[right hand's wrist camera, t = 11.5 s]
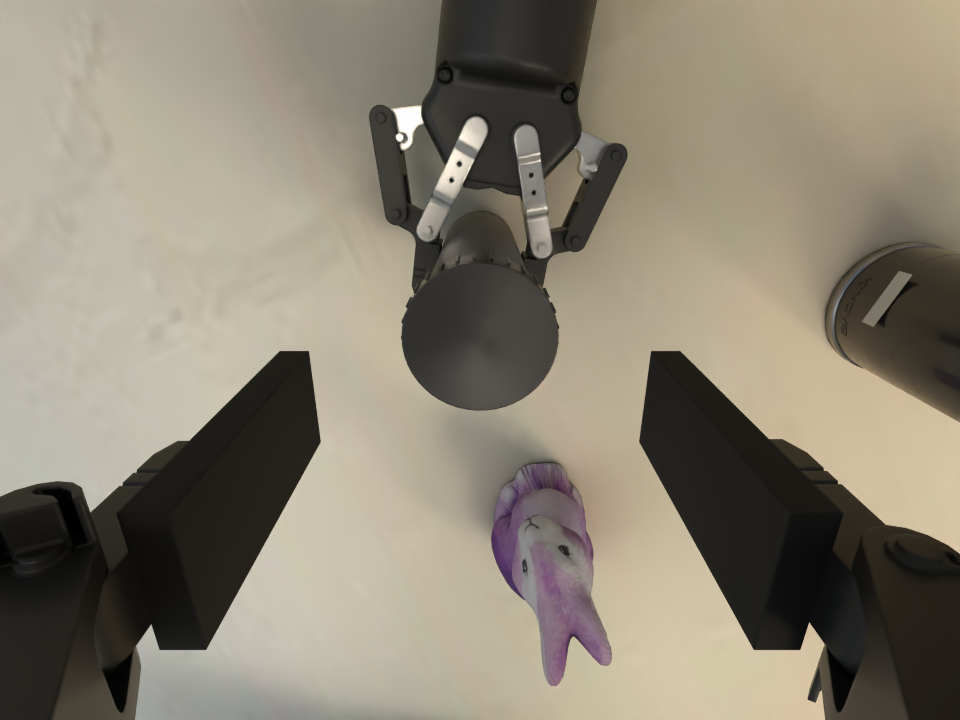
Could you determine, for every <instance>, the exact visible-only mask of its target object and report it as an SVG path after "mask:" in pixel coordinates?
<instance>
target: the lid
mask: <svg viewBox="0 0 960 720" xmlns="http://www.w3.org/2000/svg"><path fill="white" fill-rule="evenodd" d="M414 293H415V294H414V295H413V297H410V299H409V301H408V303H407V305H406V307H407V311H406V313H405V315H404V317H403V319H402V323H403V325H402V336H401V339H402V347H403V352H404V356H405V359H406V362H407V365H408V367H409V368H410V370H411V372H412V374H413V375H414V377H415V378H416V380H417V381H418V382H419V383H420V384H421V385H422V387H423V388H424V389H426V390H427V391H428V392H429V393H430V394H431V395H433V396H434V397H436V398H437V399H439V400H441V401H443V402H445V403H447V404H449V405H452V406H455V407H458V408H463V409H467V410H492V409H498V408H502V407H505V406H508V405H511V404H513V403H515V402H517V401H519V400H521V399H523V398H524V397H526V396H527V395H529V394H530V393H531V392H532V391H533V390H535V389H536V388H537V387H538V386H539V385H540V383H541V382H542V381H543V380H544V379H545V377H546V376H547V374H548V373H549V371H550V369H551V367H552V365H553V362H554V359H555V356H556V353H557V348H558V335H559V334H558V329H559V325H558V323H557V320H556V316H555V313H556V310H555V308H554V306H553V304H552V302H550V301H549V299H548V298H549V297H550V296H549V294H548V292H547V290H546V288H542V286H541V285H540V283H539V281H538V278H537V276H536V275H534V276H532V275H531V274H530V273H529V272H528V271H527V270H526V269H525V266H524V265H521V266H520V265H518V264H516V263H515V262H513V261H510V258H509V257H506V259H505V258H502V257H498V256H494V255H493V253H490V255H486V254H476V252H473V255H466V256H462V257H460V256H459V255H457V256H456V258H455V259H452V260H450V261H448V262H445V263H444V262H441V264H440V266H439V267H437V268H436V269H435V270H433V271H432V272H430V271H429V272H428V273H427V275H426V277H425V279H424V280H423V281H422V282H421V284H419V283H418V284H417V286H416V288H415V290H414Z"/></svg>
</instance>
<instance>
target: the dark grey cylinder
mask: <svg viewBox="0 0 960 720" xmlns="http://www.w3.org/2000/svg"><path fill="white" fill-rule="evenodd" d="M473 252H476V254H486V255H490V253H493V255H494V256H498V257H502V258H505V259H506V257H509V258H510V261H513V262H515V263H516V264H518V265H520V266H521V265H524V262H523V260H522V257H521V255H520V252H519V250H518V247H517V245H516V242H515V240H514V237H513V234H512V232H511V230H510V228H509V226H508V225H507V224H506V223H505V222H504V221H503V220H502V219H501V218H500V217H498V216H497V215H495V214H492V213H489V212H485V211H476V212H471V213H468V214H465V215H463V216H462V217H460V218H459V219H458V220H457V221H456V222H455V223H454V224H453V225H452V227H451V228H450V230H449V232H448V235H447V237H446V240H445V242H444V245H443V247H442V250H441V252H440V255H439V257H438V260H437V263H436V265H435V268H434V270H435V269H436V268H437V267H439V266H440V264H441V262H444V263H445V262H448V261H450V260H452V259H455V258H456V256H457V255H459V256H460V257H462V256H466V255H473ZM524 266H525V265H524ZM525 269H526V267H525Z"/></svg>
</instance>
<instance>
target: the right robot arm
mask: <svg viewBox="0 0 960 720" xmlns="http://www.w3.org/2000/svg"><path fill="white" fill-rule="evenodd" d="M320 442H321V440H320V433H319V425H318V417H317V410H316V402H315V394H314V387H313V379H312V372H311V364H310V356H309V351H280V352H279V353H278V354H277V355H275V356H274V357H273V358H272V359H271V360H270V361H269V362H268V363H267V364H266V365H265V366H264V367H263V368H262V369H261V370H260V371H259V372H258V373H257V374H256V375H255V376H254V377H253V378H252V379H251V380H250V381H249V382H248V383H247V384H246V385H245V386H244V387H243V388H242V389H241V390H240V391H239V392H238V393H237V394H236V395H235V396H234V397H233V398H232V399H231V400H230V401H229V402H228V403H227V404H226V405H225V406H224V407H223V408H222V409H221V410H220V411H219V412H218V413H217V414H216V415H215V416H214V417H213V418H212V419H211V420H210V421H209V422H208V423H207V424H206V425H205V426H204V427H203V428H202V429H201V430H200V431H199V432H198V433H197V434H196V435H195V436H194V437H193V438H192V439H191V440H190V441H177V442H175V443H173V444H172V445H170V446H168V447H166V448H164V449H162V450H161V451H159V452H157V453H155V454H154V455H152V456H151V457H150V458H149V459H148V460H147V461H146V462H145V463H144V464H143V465H142V466H141V467H139V468H138V469H137V473H133V474H132V475H131V476H130V477H129V478H128V479H126V480H125V481H124V482H123V486H119V487H118V488H117V489H116V490H115V491H113V492H112V493H111V494H110V495H109V496H108V497H107V498H106V499H105V500H104V501H103V502H102V503H100V504H99V505H98V506H97V507H96V508H95V509H94V510H93V511H92V512H91V513H90V511H89V508H88V505H87V502H86V499H85V496H84V493H83V490H82V488H81V487H80V486H78V485H76V484H74V483H72V482H59V481H56V482H49V483H41V484H36V485H32V486H29V487H25V488H22V489H18V490H15V491H12V492H10V493H8V494H5V495H3V496H1V497H0V720H135V714H136V706H137V697H138V688H139V680H140V671H141V664H140V658H139V654H138V651H137V648H136V645H137V644H138V642H139V641H140V639H141V638H142V636H143V635H144V634H145V632H146V631H147V629H148V628H149V626H150V625H151V624H152V627H153V630H154V633H155V637H156V640H157V643H158V646H159V649H160V650H206V649H207V647H208V645H209V644H210V642H211V640H212V638H213V636H214V635H215V633H216V631H217V629H218V627H219V625H220V624H221V622H222V620H223V618H224V616H225V615H226V613H227V611H228V609H229V607H230V606H231V604H232V602H233V600H234V598H235V596H236V595H237V593H238V591H239V589H240V587H241V586H242V584H243V582H244V580H245V578H246V577H247V575H248V573H249V571H250V569H251V567H252V566H253V564H254V562H255V560H256V558H257V557H258V555H259V553H260V551H261V549H262V547H263V546H264V544H265V542H266V540H267V538H268V537H269V535H270V533H271V531H272V529H273V528H274V526H275V524H276V522H277V520H278V518H279V517H280V515H281V513H282V511H283V509H284V508H285V506H286V504H287V502H288V500H289V498H290V497H291V495H292V493H293V491H294V489H295V488H296V486H297V484H298V482H299V480H300V479H301V477H302V475H303V473H304V471H305V469H306V468H307V466H308V464H309V462H310V460H311V459H312V457H313V455H314V453H315V451H316V449H317V448H318V446H319V444H320ZM639 442H640V444H641V446H642V448H643V449H644V451H645V453H646V455H647V457H648V459H649V460H650V462H651V464H652V466H653V468H654V469H655V471H656V473H657V475H658V477H659V479H660V480H661V482H662V484H663V486H664V488H665V489H666V491H667V493H668V495H669V497H670V498H671V500H672V502H673V504H674V506H675V508H676V509H677V511H678V513H679V515H680V517H681V518H682V520H683V522H684V524H685V526H686V528H687V529H688V531H689V533H690V535H691V537H692V538H693V540H694V542H695V544H696V546H697V547H698V549H699V551H700V553H701V555H702V557H703V558H704V560H705V562H706V564H707V566H708V567H709V569H710V571H711V573H712V575H713V577H714V578H715V580H716V582H717V584H718V586H719V587H720V589H721V591H722V593H723V595H724V596H725V598H726V600H727V602H728V604H729V606H730V607H731V609H732V611H733V613H734V615H735V616H736V618H737V620H738V622H739V624H740V625H741V627H742V629H743V631H744V633H745V635H746V636H747V638H748V640H749V642H750V644H751V645H752V647H753V649H754V650H800V649H801V646H802V643H803V640H804V637H805V634H806V630H807V627H808V624H809V622H810V624H811V625H812V627H813V628H814V629H815V631H816V632H817V634H818V635H819V636H820V638H821V639H822V641H823V642H824V644H825V645H824V648H823V651H822V654H821V657H820V660H819V663H818V666H817V669H816V672H815V675H814V678H813V680H812V683H811V686H810V690H809V695H808V700H810V701H813V702H815V703H816V700H817V698H818V695H819V692H820V691H821V690H822V695H823V704H824V712H825V720H960V554H959V553H958V552H956V551H955V550H954V549H952V548H951V547H949V546H948V545H946V544H944V543H942V542H940V541H938V540H936V539H934V538H932V537H930V536H928V535H926V534H923V533H920V532H916V531H913V530H910V529H907V528H902V527H896V526H889V525H885V524H884V523H883V522H882V521H881V520H880V519H879V518H878V517H876V516H875V515H874V514H873V513H872V512H871V511H870V510H869V509H868V508H867V507H866V506H865V505H863V504H862V503H861V502H860V501H859V500H858V499H857V498H856V497H855V496H854V495H853V494H851V493H850V492H849V491H848V490H847V489H846V488H845V487H844V486H843V485H842V484H838V481H837V480H836V479H835V478H834V477H833V476H832V475H831V474H830V473H829V472H827V471H824V468H823V467H822V466H821V465H820V464H819V463H818V462H817V461H815V460H814V459H813V458H812V457H811V456H810V455H809V454H808V453H807V452H805V451H803V450H801V449H799V448H798V447H796V446H794V445H792V444H790V443H788V442H787V441H785V440H783V439H768V438H767V437H766V436H765V435H764V434H763V433H762V432H761V431H760V430H759V429H758V428H757V427H756V426H755V425H754V424H753V423H752V422H751V421H750V420H749V419H748V418H747V417H746V416H745V415H744V414H743V413H742V412H741V411H740V410H739V409H738V408H737V407H736V406H735V405H734V404H733V403H732V402H731V401H730V400H729V399H728V398H727V397H726V396H725V395H724V394H723V393H722V392H721V391H720V390H719V389H718V388H717V387H716V386H715V385H714V384H713V383H712V382H711V381H710V380H709V379H708V378H707V377H706V376H705V375H704V374H703V373H702V372H701V371H700V370H699V369H698V368H697V367H696V366H695V365H694V364H693V363H692V362H691V361H690V360H689V359H688V358H687V357H686V356H685V355H683V354H682V353H681V352H680V351H651V356H650V364H649V372H648V379H647V387H646V394H645V402H644V410H643V417H642V425H641V433H640V440H639Z"/></svg>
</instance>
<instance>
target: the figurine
mask: <svg viewBox="0 0 960 720" xmlns="http://www.w3.org/2000/svg"><path fill="white" fill-rule="evenodd" d="M491 543H492V549H493V553H494V557H495V560H496V562H497V565H498V567H499V569H500V571H501V573H502V575H503V577H504V578H505V580H506V582H507V583H508V585H509V586H510V587H511V589H512V590H513V591H514V592H515V593H517V594H518V595H519V596H520V597H521V598H522V599H524V600H525V601H526V602H527V603H528V604H529V605H530V606H531V608H532V609H533V610H534V612H535V615H536V617H537V620H538V623H539V628H540V636H541V652H542V662H543V669H544V674H545V677H546V680H547V682H548V684H550V685H551V686H557V685H558V684H559V683H560V681H561V679H562V678H563V675H564V671H565V665H566V659H567V652H568V646H569V642H570V639H571V638H572V637H573V636H574V637H575V638H576V639H578V640H579V642H580V643H581V644H582V645H583V646H584V647H585V649H586V650H587V651H588V652H589V653H590V654H591V655H592V657H593V658H594V659H595V660H596V661H597V662H598V663H599V664H600V665H604V666H608V665H609V664H610V663H611V659H612V652H611V647H610V644H609V641H608V639H607V634H606V632H605V629H604V627H603V625H602V622H601V620H600V618H599V615H598V613H597V611H596V608H595V605H594V603H593V600H592V597H591V590H592V584H593V563H592V561H593V547H592V543H591V540H590V537H589V535H588V533H587V531H586V521H585V512H584V506H583V502H582V499H581V495H580V493H579V492H578V491H577V490H576V488H575V487H574V486H573V485H571V484H570V483H569V480H568V478H567V475H566V472H565V470H564V469H563V468H562V467H561V466H560V465H559V464H555V463H553V464H552V463H550V464H549V463H547V464H546V463H544V464H542V463H541V464H539V463H538V464H530V465H526V466H523V467H522V468H521V469H520V470H519V471H518V473H517V475H516V477H515V479H514V480H513V481H511V482H508V483H507V484H506V485H505V486H504V487H503V488H502V489H501V492H500V495H499V498H498V500H497V505H496V509H495V516H494V527H493V530H492V535H491Z"/></svg>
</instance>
